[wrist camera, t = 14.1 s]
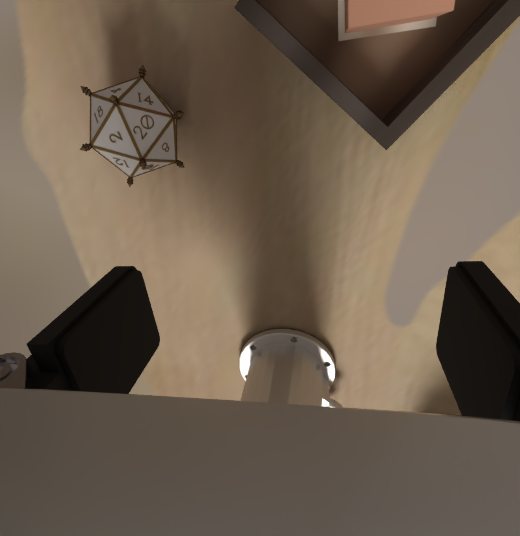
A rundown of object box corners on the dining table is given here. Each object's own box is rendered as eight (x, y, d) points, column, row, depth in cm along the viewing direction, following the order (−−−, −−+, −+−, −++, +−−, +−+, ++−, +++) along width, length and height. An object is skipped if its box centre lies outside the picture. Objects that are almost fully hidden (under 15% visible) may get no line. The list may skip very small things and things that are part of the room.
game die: (164, 95, 35) (126, 15, 25) (215, 159, 35) (197, 103, 25) (92, 148, 35) (25, 87, 25) (142, 214, 34) (94, 179, 24)
